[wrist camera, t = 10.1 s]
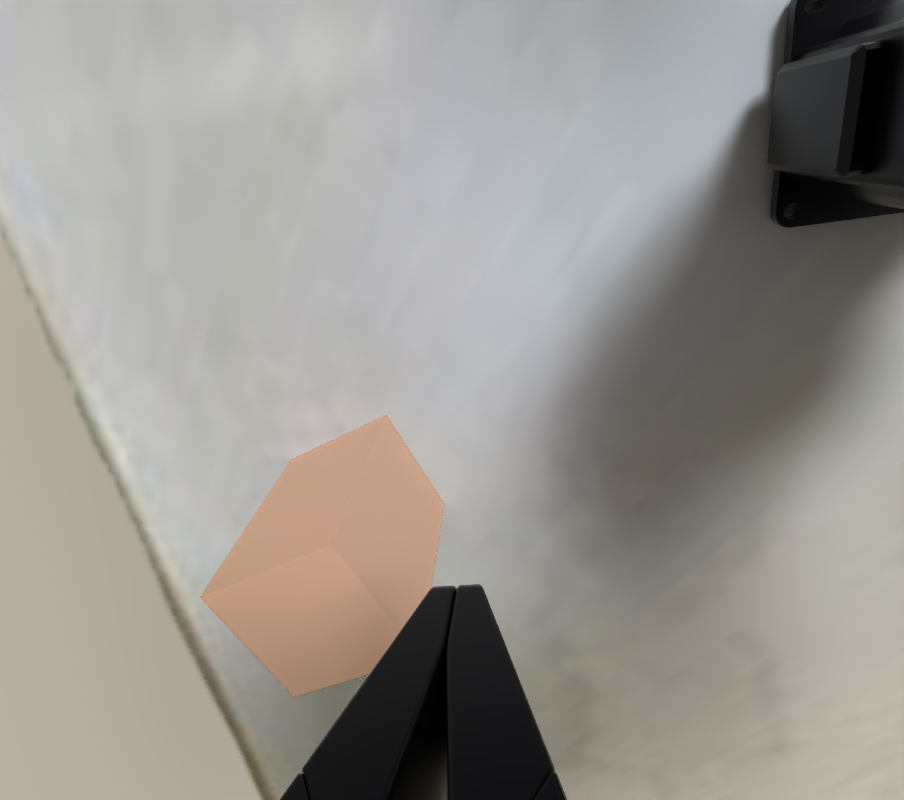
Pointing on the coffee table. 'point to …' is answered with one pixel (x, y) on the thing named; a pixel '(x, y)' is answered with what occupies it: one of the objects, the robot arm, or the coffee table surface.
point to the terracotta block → (332, 560)
